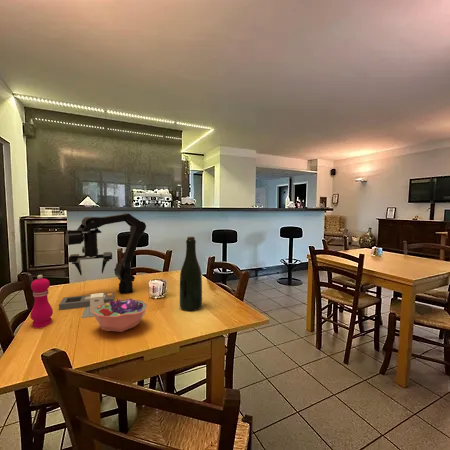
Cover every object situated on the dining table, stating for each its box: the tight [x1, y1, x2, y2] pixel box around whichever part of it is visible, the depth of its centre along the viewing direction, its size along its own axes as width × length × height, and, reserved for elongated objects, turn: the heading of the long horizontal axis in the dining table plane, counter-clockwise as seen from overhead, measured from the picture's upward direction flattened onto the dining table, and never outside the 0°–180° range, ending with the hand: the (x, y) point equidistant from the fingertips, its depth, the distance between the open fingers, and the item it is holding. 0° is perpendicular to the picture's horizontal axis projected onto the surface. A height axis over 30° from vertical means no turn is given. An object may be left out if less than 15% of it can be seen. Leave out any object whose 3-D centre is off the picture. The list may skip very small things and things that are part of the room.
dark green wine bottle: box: [179, 236, 203, 312], centre depth 120 cm, size 10×10×33 cm
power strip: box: [58, 292, 115, 311], centre depth 123 cm, size 22×9×4 cm, turn 110°
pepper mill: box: [29, 274, 54, 329], centre depth 102 cm, size 7×7×20 cm
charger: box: [90, 292, 105, 314], centre depth 114 cm, size 5×5×7 cm
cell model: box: [92, 298, 148, 333], centre depth 100 cm, size 17×20×11 cm
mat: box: [81, 307, 95, 319], centre depth 115 cm, size 11×11×1 cm
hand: (91, 274), depth 128 cm, fingers open, 9 cm apart
